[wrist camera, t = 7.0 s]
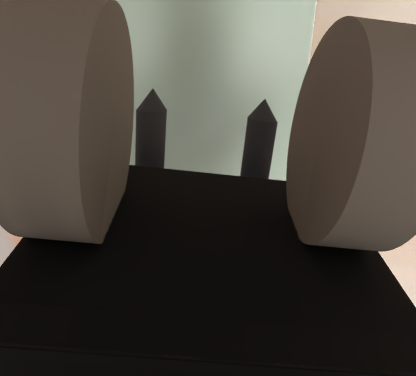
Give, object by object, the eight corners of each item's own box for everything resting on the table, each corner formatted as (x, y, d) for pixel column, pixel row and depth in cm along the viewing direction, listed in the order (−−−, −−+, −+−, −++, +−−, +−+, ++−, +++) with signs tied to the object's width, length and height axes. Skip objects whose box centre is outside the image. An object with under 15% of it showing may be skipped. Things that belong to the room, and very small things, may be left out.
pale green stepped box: (72, -35, 20) (17, -52, 14) (299, -36, 20) (346, -53, 14) (116, 239, 29) (94, 304, 22) (273, 234, 29) (295, 297, 23)
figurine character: (80, 13, 9) (95, 413, 15) (-275, -115, 2) (6, 753, 8) (327, 38, 10) (253, 415, 15) (692, 3, 3) (311, 734, 8)
